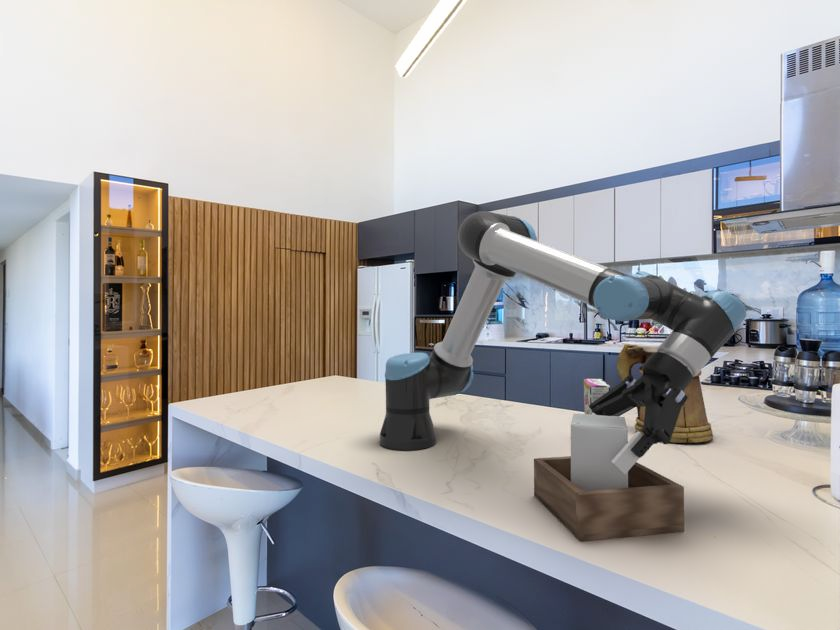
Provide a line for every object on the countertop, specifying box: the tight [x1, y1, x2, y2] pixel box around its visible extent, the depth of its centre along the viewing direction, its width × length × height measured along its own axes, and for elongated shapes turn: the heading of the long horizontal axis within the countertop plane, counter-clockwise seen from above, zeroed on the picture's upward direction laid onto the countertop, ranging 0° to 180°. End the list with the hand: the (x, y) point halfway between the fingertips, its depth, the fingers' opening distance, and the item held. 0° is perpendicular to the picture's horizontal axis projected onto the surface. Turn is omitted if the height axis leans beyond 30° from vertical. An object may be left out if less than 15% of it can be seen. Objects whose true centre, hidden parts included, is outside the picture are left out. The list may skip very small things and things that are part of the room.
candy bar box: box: [583, 378, 611, 415], centre depth 118 cm, size 11×5×16 cm, turn 168°
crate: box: [533, 455, 685, 542], centre depth 79 cm, size 17×17×7 cm
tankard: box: [616, 343, 714, 444], centre depth 127 cm, size 18×24×25 cm
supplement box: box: [570, 413, 629, 491], centre depth 79 cm, size 9×9×15 cm
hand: (594, 455), depth 79 cm, fingers open, 13 cm apart
